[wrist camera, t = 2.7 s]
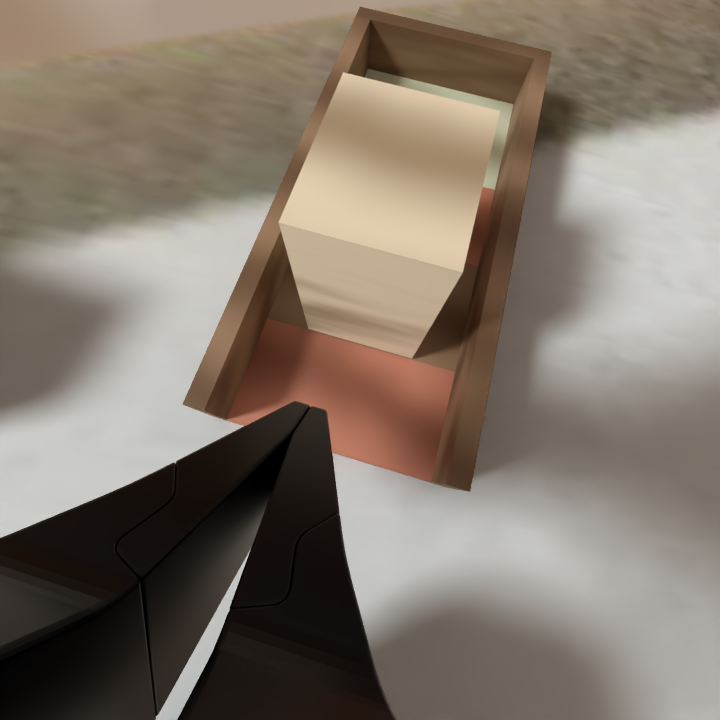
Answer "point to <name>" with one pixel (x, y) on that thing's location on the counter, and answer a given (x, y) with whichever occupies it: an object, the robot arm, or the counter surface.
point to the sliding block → (386, 211)
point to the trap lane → (456, 318)
